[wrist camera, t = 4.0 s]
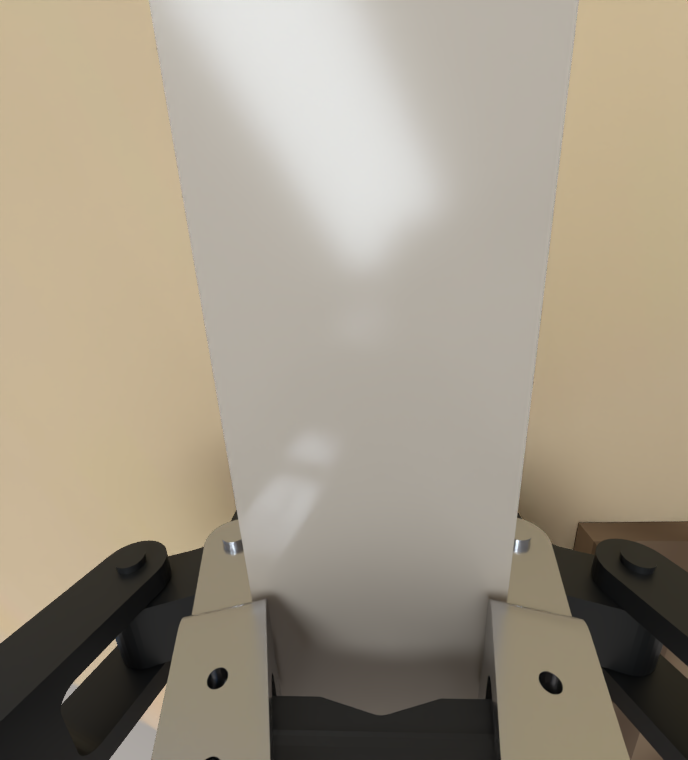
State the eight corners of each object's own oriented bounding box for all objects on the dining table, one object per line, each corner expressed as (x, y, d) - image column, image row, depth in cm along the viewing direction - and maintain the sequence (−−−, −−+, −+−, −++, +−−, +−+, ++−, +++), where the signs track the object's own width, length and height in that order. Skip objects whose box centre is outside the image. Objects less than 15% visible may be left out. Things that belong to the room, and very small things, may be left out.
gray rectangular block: (429, 115, 11) (606, -231, 3) (419, 632, 17) (466, 938, 9) (288, 126, 11) (118, -172, 3) (331, 632, 17) (309, 930, 10)
